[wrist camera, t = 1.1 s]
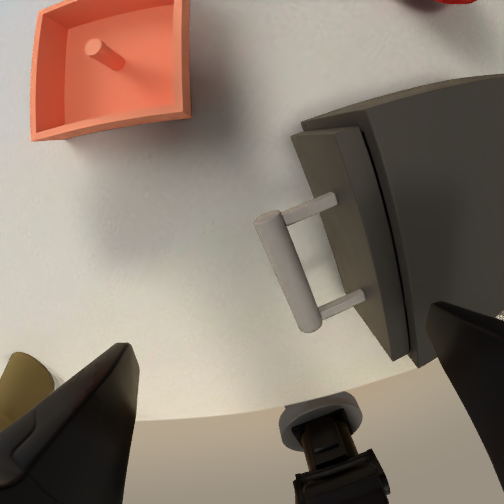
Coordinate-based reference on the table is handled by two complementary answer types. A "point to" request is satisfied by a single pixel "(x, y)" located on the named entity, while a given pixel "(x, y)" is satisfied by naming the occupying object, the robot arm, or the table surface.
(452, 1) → the tomato
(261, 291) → the table surface
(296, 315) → the dark grey drawer
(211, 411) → the table surface
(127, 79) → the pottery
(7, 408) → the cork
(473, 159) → the dark grey drawer box
